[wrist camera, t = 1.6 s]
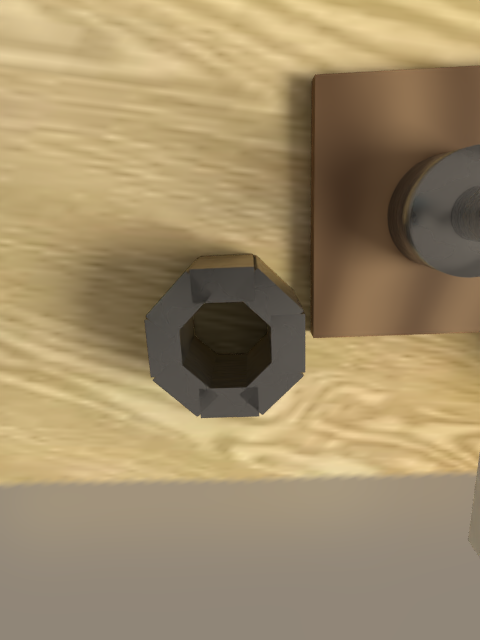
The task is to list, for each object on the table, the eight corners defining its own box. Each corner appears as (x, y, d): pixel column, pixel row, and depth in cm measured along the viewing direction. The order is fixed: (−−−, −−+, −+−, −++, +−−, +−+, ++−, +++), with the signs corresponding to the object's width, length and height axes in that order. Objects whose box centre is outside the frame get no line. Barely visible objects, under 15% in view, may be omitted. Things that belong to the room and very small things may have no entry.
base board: (310, 331, 25) (313, 337, 24) (311, 81, 22) (315, 74, 20) (538, 323, 25) (552, 329, 24) (581, 66, 21) (600, 58, 20)
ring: (172, 380, 26) (155, 419, 22) (160, 257, 24) (138, 271, 19) (294, 376, 26) (305, 414, 21) (293, 252, 24) (305, 264, 19)
